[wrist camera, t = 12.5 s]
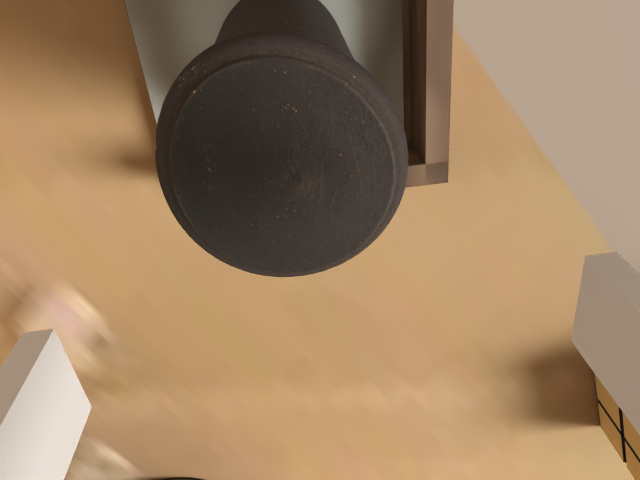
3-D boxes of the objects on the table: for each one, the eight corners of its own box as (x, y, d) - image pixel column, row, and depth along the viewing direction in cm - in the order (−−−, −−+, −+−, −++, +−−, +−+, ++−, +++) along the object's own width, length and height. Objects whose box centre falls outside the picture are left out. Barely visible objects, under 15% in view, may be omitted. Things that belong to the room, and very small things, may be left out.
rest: (178, 187, 40) (165, 223, 35) (105, -93, 30) (74, -97, 26) (440, 156, 40) (462, 187, 35) (446, -132, 31) (477, -142, 26)
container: (230, 132, 37) (191, 312, 19) (196, -9, 32) (105, 65, 15) (353, 111, 37) (423, 275, 19) (336, -33, 32) (408, 14, 15)
